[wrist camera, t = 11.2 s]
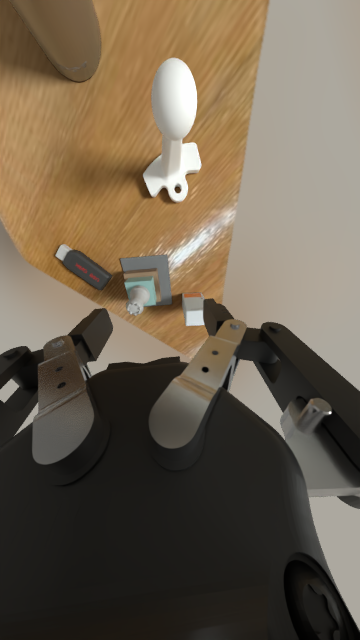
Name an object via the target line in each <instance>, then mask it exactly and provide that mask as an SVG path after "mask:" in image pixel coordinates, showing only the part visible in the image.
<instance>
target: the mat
mask: <svg viewBox="0 0 360 640" xmlns="http://www.w3.org/2000/svg"><path fill="white" fill-rule="evenodd" d="M120 260H121V264H122V267H123V271H124V273H125V272H126V271H128V270H140V269H152V268H157V269H158V277H159V284H160V291H161V302H156V305H148V306H159V305H169V304H172V297H171V287H170V277H169V268H168V258H167V255H157V256H145V257H133V258H121V259H120ZM148 306H143V307H148Z"/></svg>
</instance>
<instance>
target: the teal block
mask: <svg viewBox="0 0 360 640" xmlns="http://www.w3.org/2000/svg"><path fill="white" fill-rule="evenodd" d="M139 285H141V286H144V287H145V288H147V289H148V291H149V292H150V298H149V301H148V302H147V303H146V304H144V305H143V306H148V305H156V299H157V298H156V292H155V286H154V280H153V276H147V277H135V278H128V279H127V280H126V282H125V287H126V291H127V294H128V298H129V300H130V292H131V289H132V288H133V287H135V286H139Z"/></svg>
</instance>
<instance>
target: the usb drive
mask: <svg viewBox="0 0 360 640" xmlns="http://www.w3.org/2000/svg"><path fill="white" fill-rule="evenodd" d="M55 256H56V257H58V258H59V259H60V260H62V261H63V262H62V263H63V264H64V265H65V267H66V268H67V269H69V270H70V271H72V272H73V273H75V274H76V275H77V276H79V277H80V278H82V279H83V280H85V281H86V282H88V283H89V284H91V285H92V286H94V287H95V288H97V289H98V290H103V289H104V287H105V286H106V284H107V283H108V282H109V280H110V279H111V277H112V275H111V274H110V273H108V272H107V271H106V270H104V269H103V268H102V267H101V266H99V265H98V264H97V263H95V262H94V261H93V260H91V259H90V258H89V257H87V256H86V255H85V254H83V253H82V252H81V251H78V250H72V249H71V248H69V247H68V246H67V245H65V244H63V245H61V246H60V248H59V249H58V251H57V253H56V255H55Z"/></svg>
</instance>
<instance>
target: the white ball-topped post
mask: <svg viewBox="0 0 360 640" xmlns="http://www.w3.org/2000/svg"><path fill="white" fill-rule="evenodd" d="M151 101H152V111H153V115H154V119H155V122H156V124H157V127H158V128H159V130H160V132H161V133H162V134H163V137H162V154H161V155H160V156H159V157H157V158H156V159H155V160H154V161H153V162H152V163H151V164H150V165H149V167H148V168H147V169H146V171H145V172H144V174H143V178H144V180H145V182H146V185H147V187H148V190H149V192H150V194H151V196H152V197H156V196H157V194H158V193H159V191H160V190H161V189H162V188H166V189H167V190H168V193H169V196H170V198H171V200H172V201H174V202H176V203H179V202H182V201H183V200H184V199H185V197H186V195H187V192H188V185H187V182H186V179H185V175H186V174H189V173H198V172H199V170H200V168H201V161H200V157H199V153H198V149H197V145H196V144H195V143H186V144H182V139H183V138H184V137H185V136H186V135H187V134H188V133H189V131H190V129H191V127H192V125H193V123H194V119H195V116H196V109H197V92H196V86H195V82H194V79H193V76H192V73H191V71H190V70H189V68H188V67H187V65H186V64H185V63H184V62H183V61H181V60H180V59H177V58H170V59H167V60H166V61H164V62H163V63H162V64H161V66H160V67H159V68H158V70H157V72H156V75H155V78H154V81H153V86H152V95H151ZM177 186H178V187H180V189H181V192H180V193H176V192H175V190H174V188H175V187H177Z"/></svg>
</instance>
